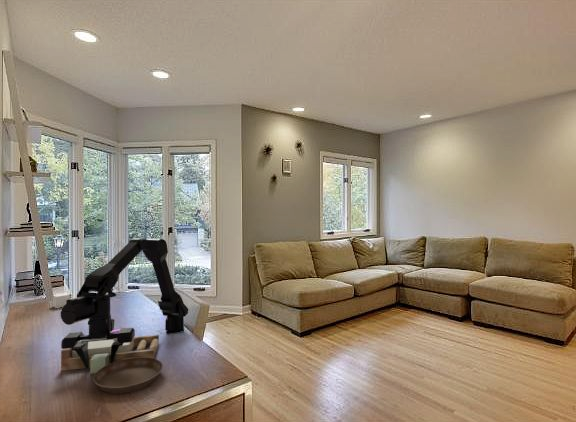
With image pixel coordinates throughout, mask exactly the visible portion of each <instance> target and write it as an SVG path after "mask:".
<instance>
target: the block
mask: <svg viewBox="0 0 576 422" xmlns="http://www.w3.org/2000/svg"><path fill="white" fill-rule="evenodd" d="M106 365H109V353H106V354H96V355H94V356H93V357H92V359H91V360H90V367H89V368H90V369H89V373H90V374H96V372H97V371H99V370H100V369H101V368H103V367H105V366H106Z"/></svg>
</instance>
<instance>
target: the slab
mask: <svg viewBox="0 0 576 422" xmlns="http://www.w3.org/2000/svg"><path fill="white" fill-rule="evenodd" d="M113 342H114V339H112V340H102V341H91V342H88V356H92V355H96V354H106V353H109V354H111V345H112V344H113ZM133 342H134V338H133V340H132V342H128V343H123V345H122V346H119V348H118V350H117V353H121V352H129V351H130V349H131V346H132V344H133ZM73 357H79V355H78V354H77V353H76V351H72V358H73Z"/></svg>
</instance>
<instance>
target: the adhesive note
mask: <svg viewBox="0 0 576 422" xmlns="http://www.w3.org/2000/svg"><path fill="white" fill-rule="evenodd" d="M67 299H71V294H70V293H68V292H64V293H57V294H53V295H52V307H53V308H54V307H55V308H54V309H56V308H57V309H61V308H60V307H62V308H63V306H64V305H65V304H66V300H67Z"/></svg>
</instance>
